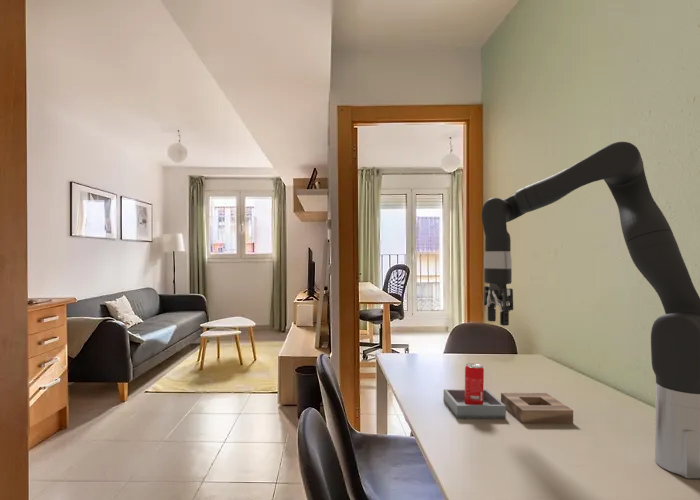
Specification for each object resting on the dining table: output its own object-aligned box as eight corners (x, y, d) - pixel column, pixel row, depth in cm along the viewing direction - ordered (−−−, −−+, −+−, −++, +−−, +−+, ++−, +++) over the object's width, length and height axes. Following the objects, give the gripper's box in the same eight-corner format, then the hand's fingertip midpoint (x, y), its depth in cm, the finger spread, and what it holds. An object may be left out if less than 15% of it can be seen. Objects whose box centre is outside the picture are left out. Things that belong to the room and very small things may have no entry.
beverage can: (462, 407, 118) (463, 366, 118) (466, 402, 123) (467, 362, 123) (481, 411, 116) (481, 368, 116) (484, 405, 120) (485, 364, 120)
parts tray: (505, 418, 113) (505, 405, 113) (457, 418, 112) (457, 405, 113) (486, 400, 127) (487, 389, 127) (443, 400, 126) (443, 389, 126)
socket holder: (573, 423, 111) (573, 410, 111) (522, 423, 110) (522, 410, 110) (545, 404, 125) (546, 392, 125) (500, 404, 124) (501, 392, 124)
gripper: (522, 267, 113) (522, 327, 112) (499, 267, 127) (499, 319, 126) (495, 267, 112) (495, 327, 111) (475, 266, 126) (475, 319, 126)
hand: (497, 323), depth 119 cm, fingers open, 8 cm apart
